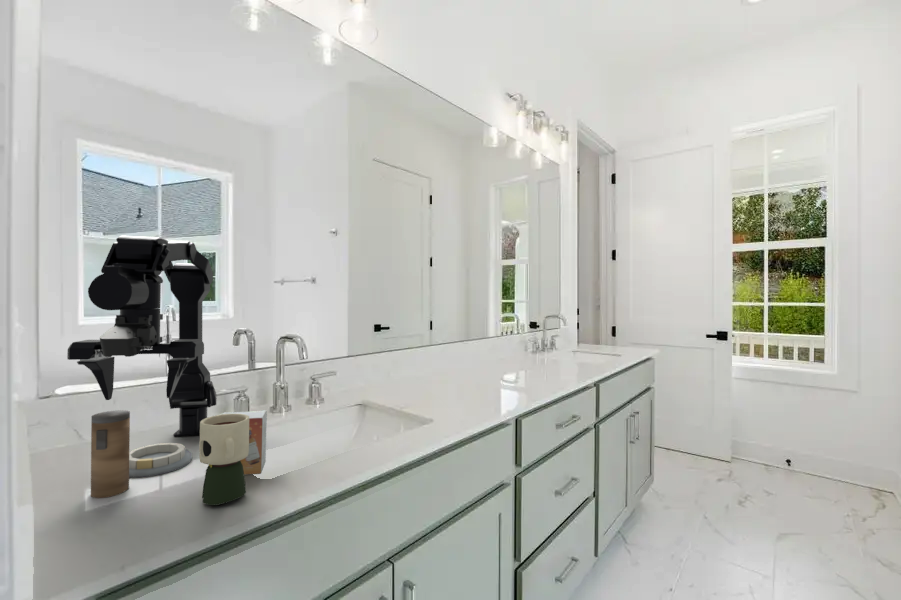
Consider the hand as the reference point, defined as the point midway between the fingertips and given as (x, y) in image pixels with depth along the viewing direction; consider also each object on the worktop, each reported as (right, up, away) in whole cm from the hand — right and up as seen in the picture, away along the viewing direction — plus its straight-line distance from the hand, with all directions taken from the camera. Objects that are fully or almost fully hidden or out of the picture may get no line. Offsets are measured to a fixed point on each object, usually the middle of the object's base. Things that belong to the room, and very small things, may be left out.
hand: (139, 398), depth 75 cm
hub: (-3, -15, +8) cm, 17 cm away
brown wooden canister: (-2, -15, -3) cm, 15 cm away
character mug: (+18, -15, -6) cm, 24 cm away
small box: (+15, -15, +6) cm, 22 cm away
